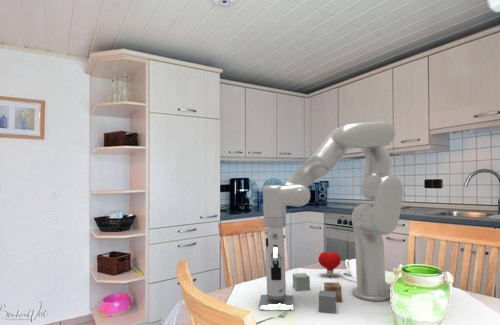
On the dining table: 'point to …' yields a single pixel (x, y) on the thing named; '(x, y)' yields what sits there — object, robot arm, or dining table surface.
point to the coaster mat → (265, 300)
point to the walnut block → (334, 289)
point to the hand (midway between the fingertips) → (276, 276)
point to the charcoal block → (327, 302)
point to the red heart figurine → (329, 261)
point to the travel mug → (275, 287)
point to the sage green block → (301, 282)
